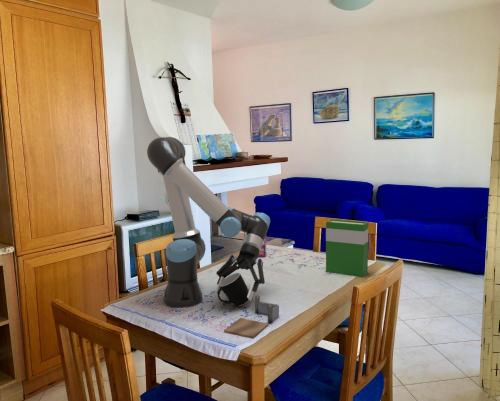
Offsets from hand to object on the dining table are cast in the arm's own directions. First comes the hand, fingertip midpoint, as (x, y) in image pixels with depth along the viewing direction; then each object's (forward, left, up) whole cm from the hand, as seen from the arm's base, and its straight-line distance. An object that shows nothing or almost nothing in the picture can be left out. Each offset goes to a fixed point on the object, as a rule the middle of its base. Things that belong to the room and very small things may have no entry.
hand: (232, 296), depth 166 cm
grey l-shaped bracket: (+14, -2, -5) cm, 15 cm away
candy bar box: (-26, +68, -5) cm, 73 cm away
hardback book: (+26, +60, -5) cm, 66 cm away
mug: (+1, +3, -4) cm, 5 cm away
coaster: (+13, -14, -5) cm, 20 cm away
